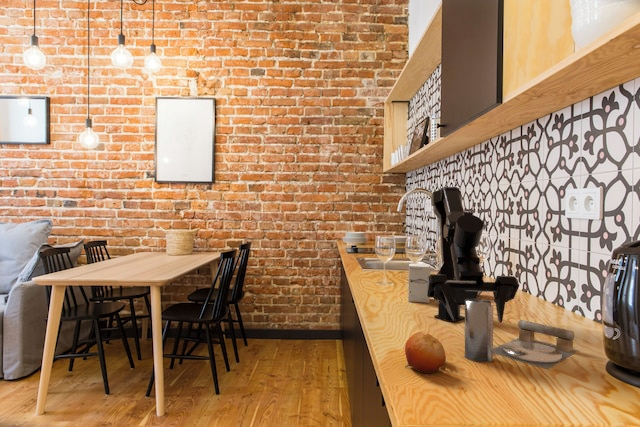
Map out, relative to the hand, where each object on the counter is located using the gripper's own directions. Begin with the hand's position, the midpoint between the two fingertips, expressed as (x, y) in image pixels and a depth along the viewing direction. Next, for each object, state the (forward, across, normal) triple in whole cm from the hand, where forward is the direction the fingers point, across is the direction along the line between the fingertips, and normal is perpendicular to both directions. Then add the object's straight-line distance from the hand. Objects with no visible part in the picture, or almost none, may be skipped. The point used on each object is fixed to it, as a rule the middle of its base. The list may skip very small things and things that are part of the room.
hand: (477, 320), depth 80 cm
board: (+2, -13, -10) cm, 17 cm away
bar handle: (-2, -17, -12) cm, 21 cm away
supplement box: (-34, +6, -46) cm, 57 cm away
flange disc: (+3, -12, -8) cm, 15 cm away
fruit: (+10, +11, -3) cm, 15 cm away
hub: (+6, 0, -6) cm, 9 cm away
